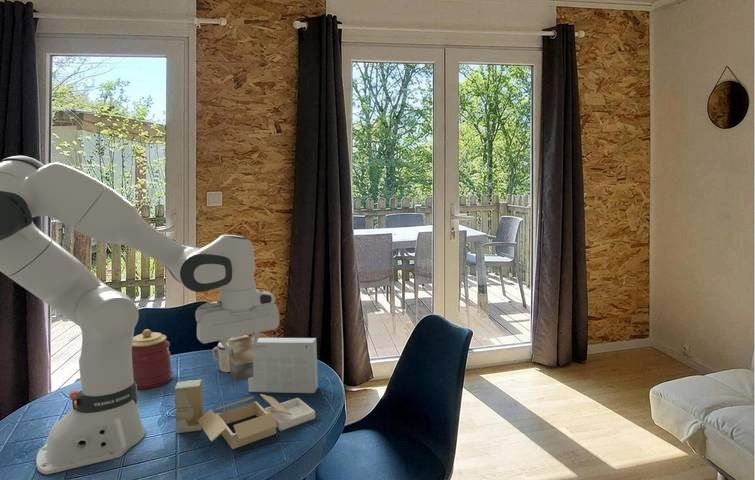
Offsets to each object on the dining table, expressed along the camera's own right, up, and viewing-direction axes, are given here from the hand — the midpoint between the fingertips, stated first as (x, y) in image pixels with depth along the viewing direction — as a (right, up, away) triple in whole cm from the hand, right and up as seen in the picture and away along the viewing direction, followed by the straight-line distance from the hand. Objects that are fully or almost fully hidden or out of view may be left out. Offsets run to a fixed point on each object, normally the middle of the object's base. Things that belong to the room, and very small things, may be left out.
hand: (240, 352), depth 112 cm
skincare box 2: (+5, -18, +26) cm, 32 cm away
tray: (+11, -20, +9) cm, 24 cm away
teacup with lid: (-18, -17, +44) cm, 50 cm away
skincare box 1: (-14, -21, +4) cm, 26 cm away
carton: (0, -21, +2) cm, 21 cm away
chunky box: (0, -6, +1) cm, 6 cm away
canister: (-40, -18, +33) cm, 55 cm away
